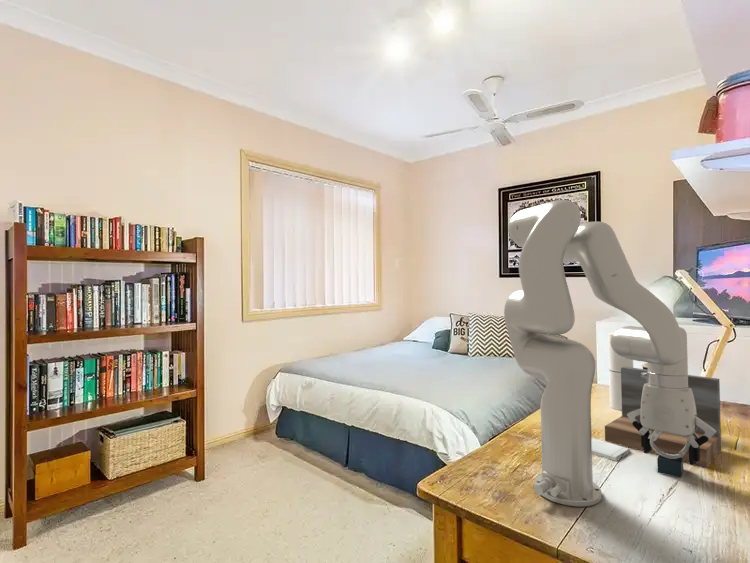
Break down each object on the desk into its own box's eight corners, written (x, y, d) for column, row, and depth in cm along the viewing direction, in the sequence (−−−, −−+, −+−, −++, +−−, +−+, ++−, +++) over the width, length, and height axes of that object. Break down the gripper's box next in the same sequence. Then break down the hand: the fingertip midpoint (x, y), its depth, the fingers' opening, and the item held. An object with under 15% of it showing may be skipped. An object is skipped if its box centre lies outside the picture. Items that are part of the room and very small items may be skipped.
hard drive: (565, 441, 110) (615, 456, 100) (581, 434, 115) (630, 447, 105) (565, 448, 110) (615, 463, 100) (581, 440, 115) (630, 454, 105)
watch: (650, 461, 99) (649, 415, 99) (693, 470, 94) (691, 422, 94) (647, 470, 95) (645, 422, 95) (691, 480, 90) (689, 429, 90)
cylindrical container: (605, 405, 144) (603, 332, 144) (624, 404, 145) (622, 332, 145) (619, 411, 137) (617, 335, 137) (639, 410, 138) (637, 334, 138)
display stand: (706, 467, 96) (704, 388, 96) (605, 440, 113) (603, 374, 113) (721, 450, 105) (719, 378, 105) (625, 428, 122) (623, 366, 122)
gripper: (619, 377, 99) (621, 450, 99) (711, 390, 86) (713, 475, 86) (631, 372, 104) (633, 442, 104) (720, 384, 90) (722, 464, 90)
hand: (669, 456), depth 95 cm, fingers closed on watch, 8 cm apart
